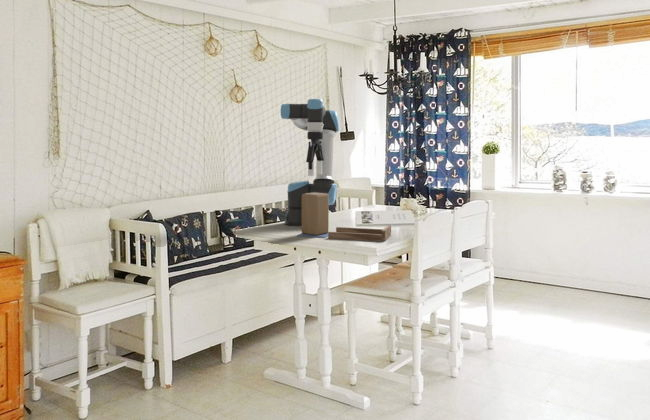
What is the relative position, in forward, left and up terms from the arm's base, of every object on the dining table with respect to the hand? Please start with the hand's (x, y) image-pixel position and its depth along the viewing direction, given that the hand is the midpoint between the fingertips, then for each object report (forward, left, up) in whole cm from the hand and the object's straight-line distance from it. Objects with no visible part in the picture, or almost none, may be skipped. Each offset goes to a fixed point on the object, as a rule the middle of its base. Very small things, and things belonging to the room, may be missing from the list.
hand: (315, 175), depth 312 cm
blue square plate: (0, 0, -30) cm, 30 cm away
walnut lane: (0, +22, -30) cm, 37 cm away
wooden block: (0, 0, -29) cm, 29 cm away
